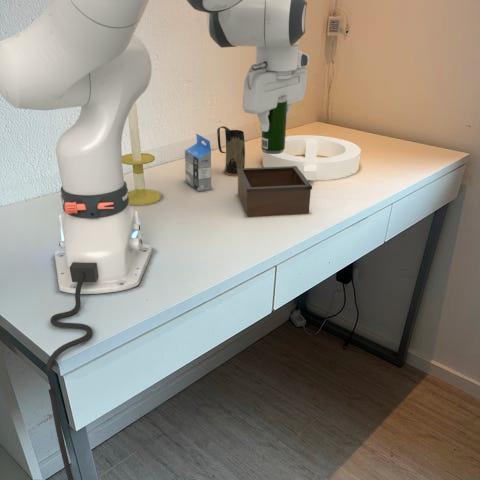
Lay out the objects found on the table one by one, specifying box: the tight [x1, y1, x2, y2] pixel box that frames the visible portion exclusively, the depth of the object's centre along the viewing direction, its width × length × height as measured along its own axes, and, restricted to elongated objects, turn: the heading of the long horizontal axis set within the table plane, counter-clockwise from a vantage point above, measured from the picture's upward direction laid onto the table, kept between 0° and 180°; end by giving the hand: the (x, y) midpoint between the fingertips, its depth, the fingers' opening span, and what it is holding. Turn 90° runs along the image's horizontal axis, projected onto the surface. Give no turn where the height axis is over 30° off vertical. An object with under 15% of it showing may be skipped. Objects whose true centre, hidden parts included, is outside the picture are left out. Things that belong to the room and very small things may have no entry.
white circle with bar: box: [262, 134, 362, 181], centre depth 152 cm, size 28×28×5 cm
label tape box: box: [184, 133, 212, 192], centre depth 135 cm, size 9×4×12 cm, turn 28°
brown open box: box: [237, 166, 313, 218], centre depth 125 cm, size 15×15×7 cm
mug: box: [216, 126, 246, 177], centre depth 144 cm, size 8×6×12 cm
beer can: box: [260, 95, 287, 154], centre depth 117 cm, size 5×5×12 cm
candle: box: [122, 101, 162, 206], centre depth 123 cm, size 10×10×27 cm
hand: (274, 128), depth 118 cm, fingers closed on beer can, 5 cm apart
